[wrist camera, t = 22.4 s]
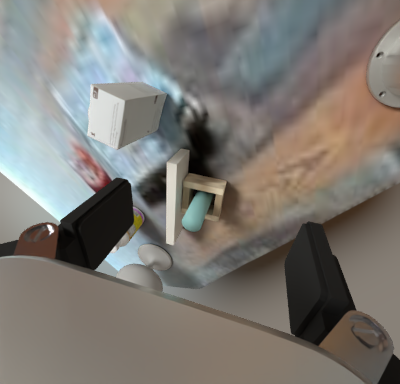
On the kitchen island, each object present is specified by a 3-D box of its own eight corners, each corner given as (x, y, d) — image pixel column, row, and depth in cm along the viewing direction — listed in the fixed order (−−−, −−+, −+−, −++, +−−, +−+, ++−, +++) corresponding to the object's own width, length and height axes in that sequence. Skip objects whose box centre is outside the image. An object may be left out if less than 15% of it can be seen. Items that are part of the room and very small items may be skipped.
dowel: (214, 187, 49) (202, 218, 39) (212, 201, 51) (200, 233, 41) (198, 183, 50) (182, 213, 40) (197, 197, 52) (181, 228, 42)
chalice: (171, 243, 63) (148, 287, 51) (178, 274, 70) (159, 319, 58) (131, 238, 67) (101, 277, 55) (141, 267, 74) (116, 308, 62)
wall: (189, 150, 46) (176, 164, 39) (184, 224, 58) (173, 245, 51) (180, 148, 46) (166, 162, 40) (177, 223, 58) (166, 243, 52)
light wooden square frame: (226, 180, 47) (223, 189, 44) (220, 211, 52) (218, 221, 49) (189, 172, 49) (183, 180, 45) (186, 203, 54) (181, 212, 50)
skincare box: (158, 130, 46) (119, 154, 33) (133, 118, 46) (85, 138, 33) (168, 90, 41) (126, 102, 29) (140, 78, 41) (87, 83, 29)
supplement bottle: (129, 223, 64) (102, 255, 53) (121, 205, 61) (90, 235, 50) (148, 223, 61) (124, 256, 51) (140, 204, 58) (113, 235, 48)
